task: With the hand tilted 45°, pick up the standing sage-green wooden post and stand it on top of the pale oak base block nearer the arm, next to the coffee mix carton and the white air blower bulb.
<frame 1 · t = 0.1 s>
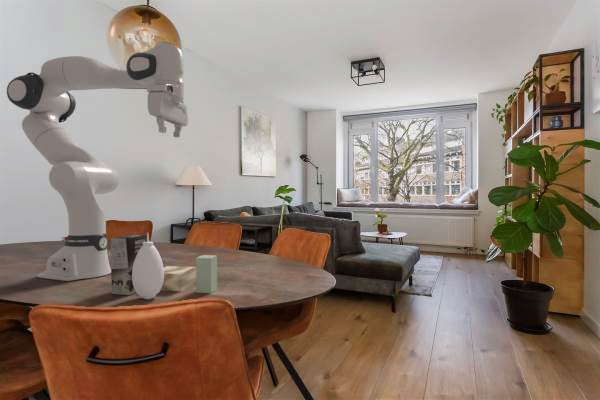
hand: (169, 134, 117), 48 cm above the table, tool pointing down, fingers open, 8 cm apart
base block: (173, 286, 107), on the table
coffee box: (131, 291, 102), on the table
white air blower bulb: (148, 299, 95), on the table
sage post: (206, 290, 102), on the table
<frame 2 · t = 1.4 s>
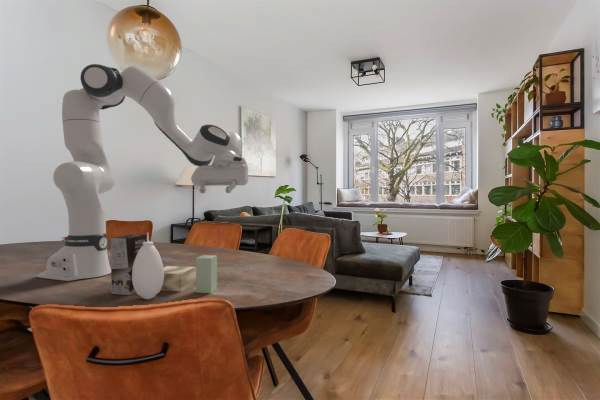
hand: (214, 191, 120), 29 cm above the table, tool tilted 45°, fingers open, 8 cm apart
nothing on the table moved.
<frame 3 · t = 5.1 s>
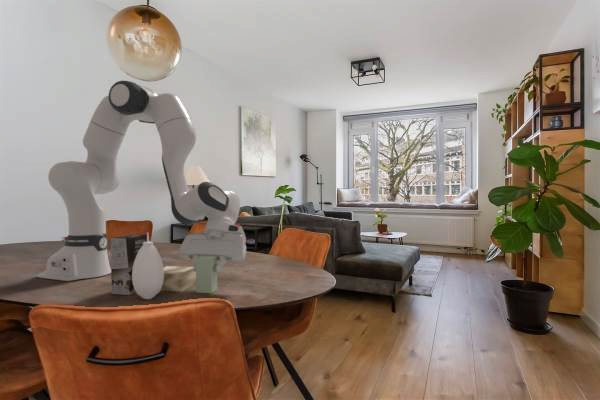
hand: (205, 271, 101), 6 cm above the table, tool tilted 45°, fingers closed on sage post, 4 cm apart
sage post: (206, 290, 102), on the table, touching gripper
everything else where it was.
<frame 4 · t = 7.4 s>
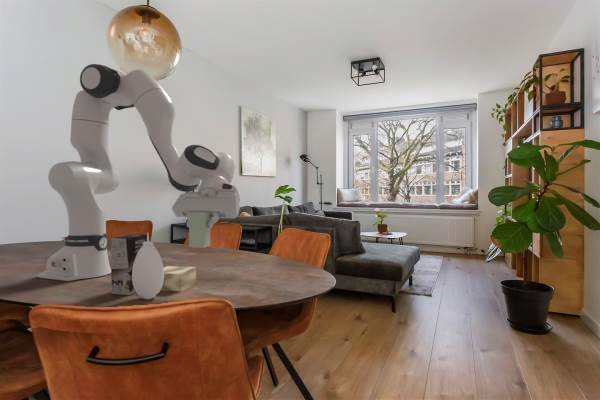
hand: (198, 226, 102), 19 cm above the table, tool tilted 45°, fingers closed on sage post, 4 cm apart
sage post: (199, 246, 103), point 13 cm above the table, touching gripper
everything else where it was.
when the fingers open (12 cm above the table, at t = 10.2 s): sage post drops 1 cm, resting on base block.
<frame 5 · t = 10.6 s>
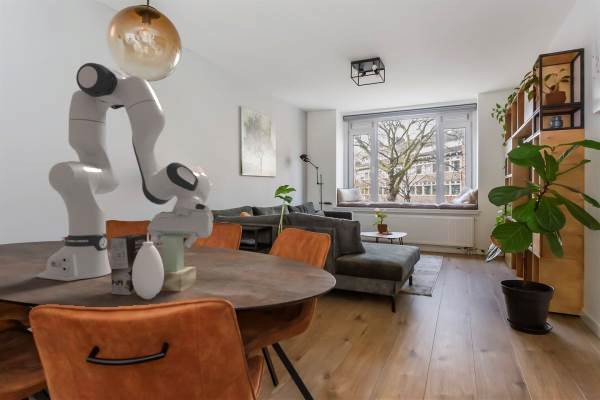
hand: (172, 246, 106), 12 cm above the table, tool tilted 45°, fingers open, 8 cm apart
sage post: (173, 269, 107), point 5 cm above the table, touching base block
everything else where it was.
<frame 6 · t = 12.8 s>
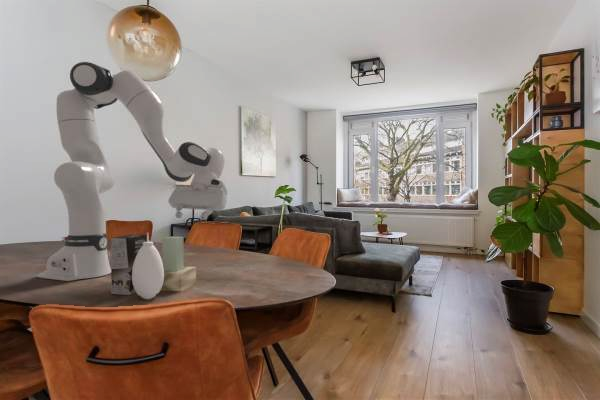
hand: (190, 217, 119), 20 cm above the table, tool tilted 40°, fingers open, 8 cm apart
nothing on the table moved.
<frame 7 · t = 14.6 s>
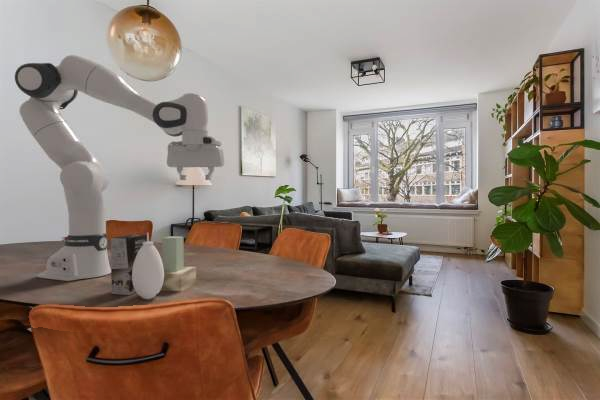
hand: (195, 180, 124), 33 cm above the table, tool pointing down, fingers open, 8 cm apart
nothing on the table moved.
at the end: sage post inside the target area on the base block (0.0 cm from its centre), point 5.0 cm above the base block's base; sage post tilted 0°; the gripper is holding nothing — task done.
